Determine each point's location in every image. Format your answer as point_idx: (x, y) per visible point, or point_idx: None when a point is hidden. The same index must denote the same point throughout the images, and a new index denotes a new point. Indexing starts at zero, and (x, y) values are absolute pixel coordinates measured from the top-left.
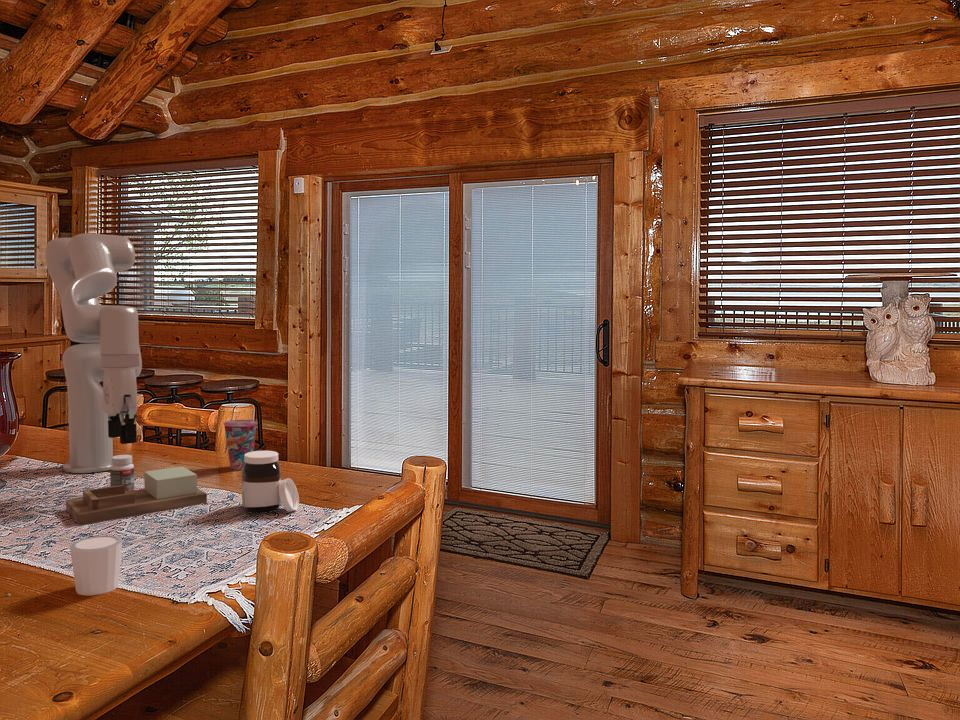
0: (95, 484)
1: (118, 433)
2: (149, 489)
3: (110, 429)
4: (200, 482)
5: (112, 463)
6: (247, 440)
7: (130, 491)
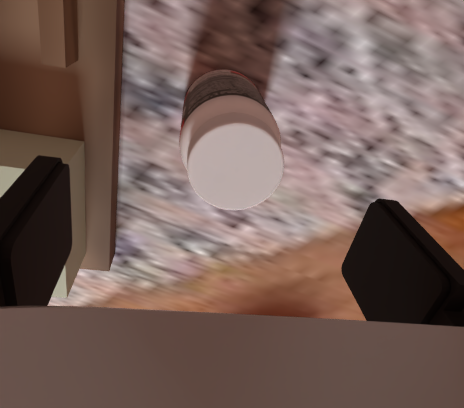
0: (416, 95)
1: (361, 257)
2: (7, 137)
3: (398, 237)
4: (178, 302)
5: (240, 113)
6: None
7: (100, 97)
